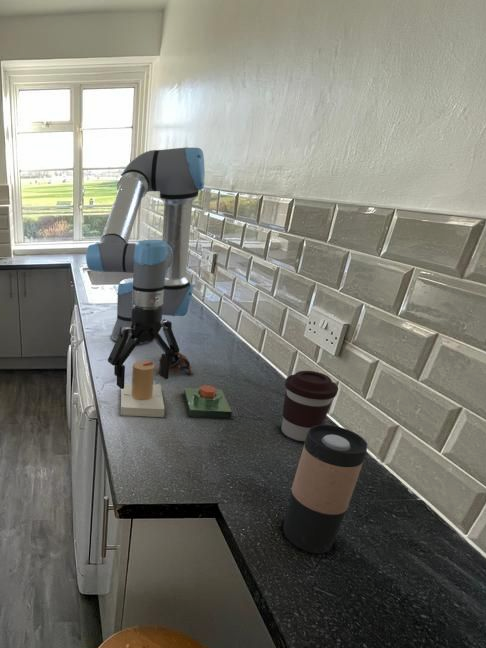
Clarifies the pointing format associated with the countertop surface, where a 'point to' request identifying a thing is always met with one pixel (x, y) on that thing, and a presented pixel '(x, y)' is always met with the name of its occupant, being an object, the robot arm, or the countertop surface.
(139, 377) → the knob
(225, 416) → the button box
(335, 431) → the travel mug
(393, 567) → the countertop surface
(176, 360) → the brown arched frame
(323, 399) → the coffee cup
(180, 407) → the countertop surface
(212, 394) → the button
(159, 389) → the panel
